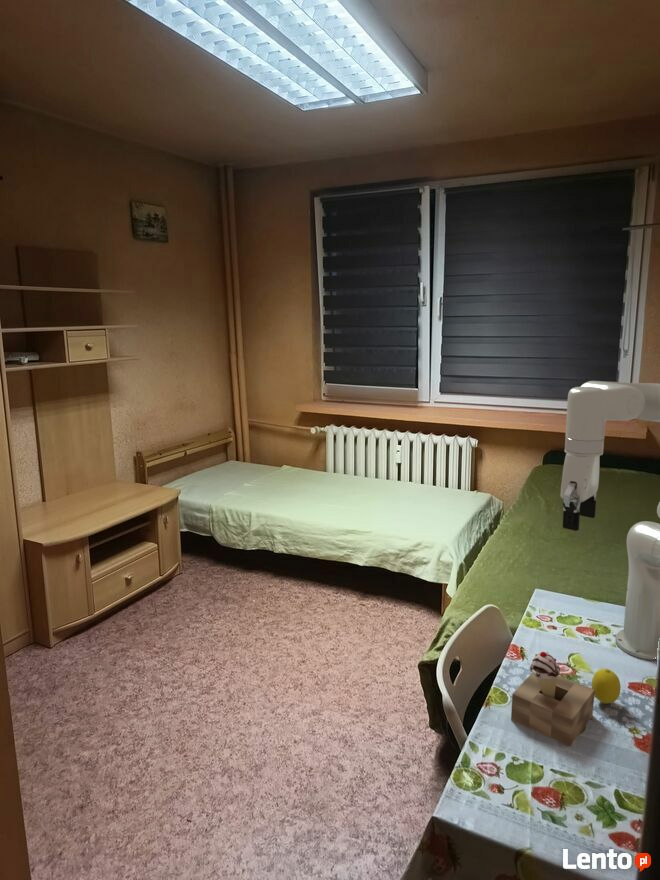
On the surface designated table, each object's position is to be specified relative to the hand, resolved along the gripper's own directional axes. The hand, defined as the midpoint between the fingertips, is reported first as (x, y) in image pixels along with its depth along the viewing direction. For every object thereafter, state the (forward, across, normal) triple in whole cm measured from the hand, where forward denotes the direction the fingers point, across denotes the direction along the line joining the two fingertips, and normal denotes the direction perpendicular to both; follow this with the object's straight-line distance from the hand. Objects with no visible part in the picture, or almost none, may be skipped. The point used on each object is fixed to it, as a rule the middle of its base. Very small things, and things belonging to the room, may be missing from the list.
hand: (579, 522), depth 130 cm
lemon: (+36, +6, +10) cm, 38 cm away
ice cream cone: (+36, +18, +3) cm, 41 cm away
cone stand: (+36, +18, +3) cm, 41 cm away
